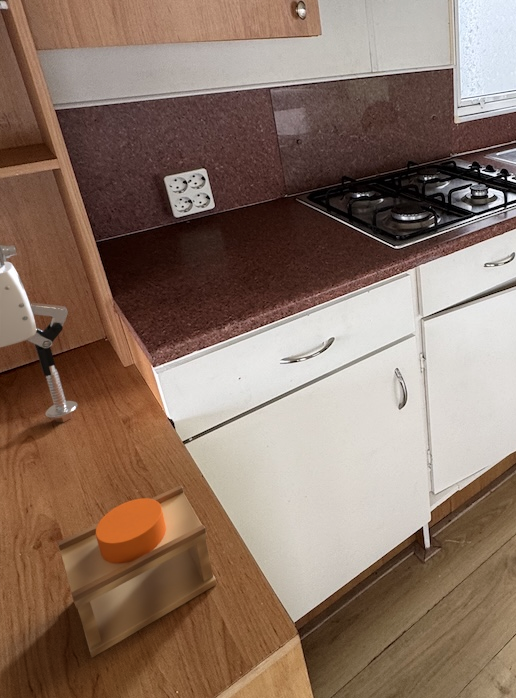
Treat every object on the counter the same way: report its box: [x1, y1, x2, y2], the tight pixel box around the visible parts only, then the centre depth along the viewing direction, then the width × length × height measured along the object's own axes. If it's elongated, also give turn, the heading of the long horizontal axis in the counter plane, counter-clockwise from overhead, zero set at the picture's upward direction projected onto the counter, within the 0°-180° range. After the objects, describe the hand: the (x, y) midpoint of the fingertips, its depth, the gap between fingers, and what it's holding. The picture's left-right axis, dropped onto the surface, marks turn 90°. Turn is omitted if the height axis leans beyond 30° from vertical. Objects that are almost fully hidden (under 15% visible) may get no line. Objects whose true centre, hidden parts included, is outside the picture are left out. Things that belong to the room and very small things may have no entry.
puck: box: [95, 497, 166, 563], centre depth 72 cm, size 7×7×3 cm
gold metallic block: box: [57, 484, 218, 658], centre depth 74 cm, size 14×10×10 cm
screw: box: [45, 365, 79, 423], centre depth 106 cm, size 13×5×5 cm
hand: (0, 385), depth 75 cm, fingers open, 9 cm apart
